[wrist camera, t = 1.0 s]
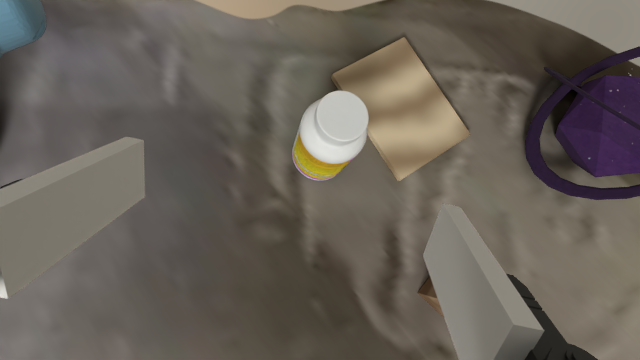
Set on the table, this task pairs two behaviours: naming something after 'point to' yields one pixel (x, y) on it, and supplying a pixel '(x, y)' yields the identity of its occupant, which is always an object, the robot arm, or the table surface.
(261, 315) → the table surface
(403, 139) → the pad
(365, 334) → the table surface
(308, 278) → the table surface
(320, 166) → the supplement bottle
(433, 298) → the walnut block
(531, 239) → the table surface
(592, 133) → the decorative bottle
